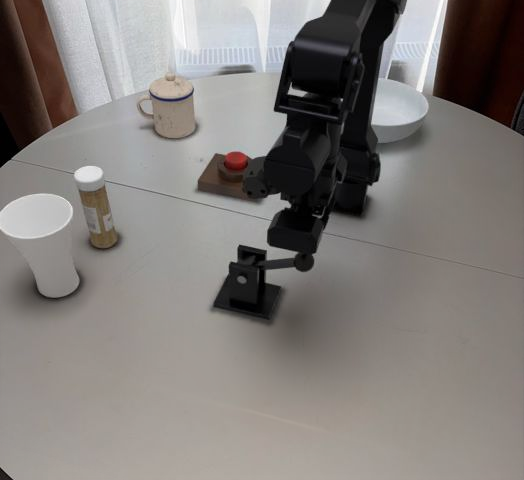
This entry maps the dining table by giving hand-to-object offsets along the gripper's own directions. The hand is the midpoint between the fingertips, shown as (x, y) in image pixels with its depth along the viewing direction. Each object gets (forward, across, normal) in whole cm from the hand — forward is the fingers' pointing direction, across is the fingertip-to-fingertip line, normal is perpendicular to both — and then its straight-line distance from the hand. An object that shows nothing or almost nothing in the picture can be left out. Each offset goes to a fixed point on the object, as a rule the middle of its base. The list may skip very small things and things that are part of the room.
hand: (304, 249), depth 81 cm
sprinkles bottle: (+13, -6, -36) cm, 39 cm away
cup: (+13, +6, -38) cm, 41 cm away
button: (+9, -30, -20) cm, 37 cm away
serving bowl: (+13, -58, +2) cm, 59 cm away
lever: (+5, 0, -3) cm, 6 cm away
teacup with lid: (+13, -44, -40) cm, 61 cm away
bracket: (+12, 0, -8) cm, 15 cm away
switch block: (+13, -30, -20) cm, 38 cm away
